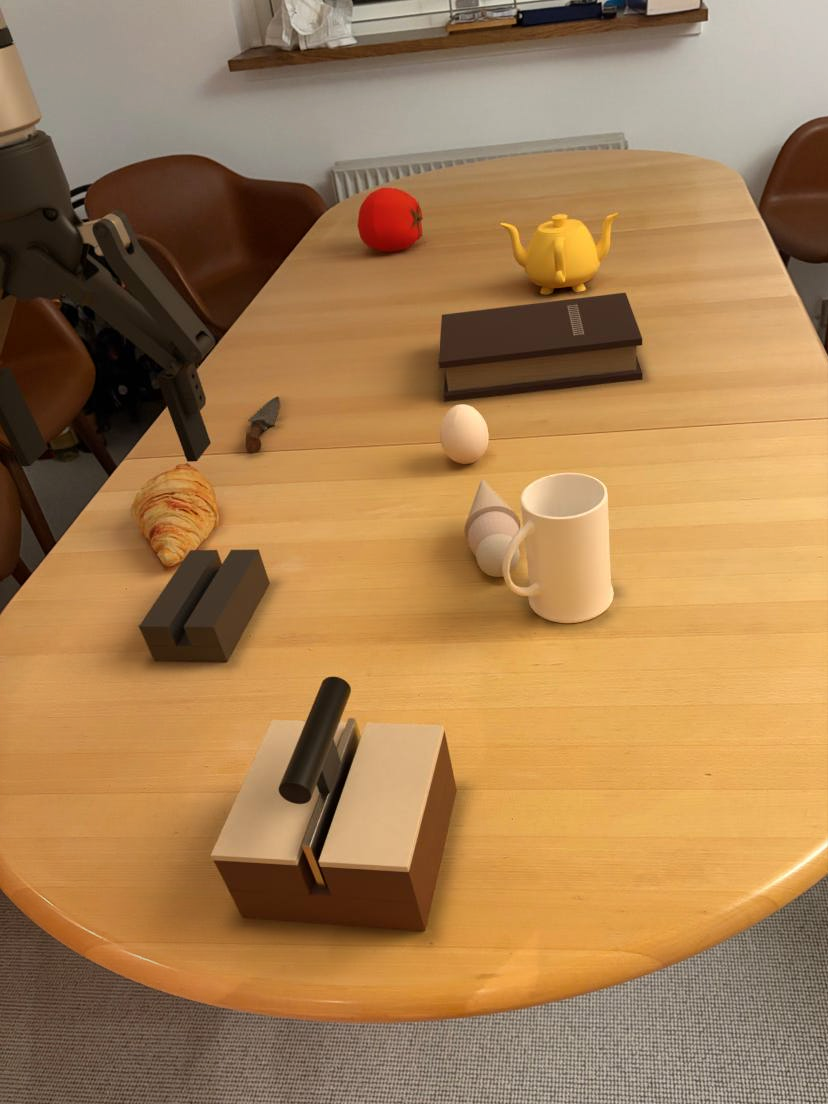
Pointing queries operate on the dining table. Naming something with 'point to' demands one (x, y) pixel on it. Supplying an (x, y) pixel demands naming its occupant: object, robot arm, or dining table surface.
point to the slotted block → (205, 606)
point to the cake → (344, 832)
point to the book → (539, 347)
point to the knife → (261, 424)
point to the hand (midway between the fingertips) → (115, 455)
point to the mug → (565, 547)
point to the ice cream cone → (491, 531)
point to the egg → (464, 434)
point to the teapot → (561, 253)
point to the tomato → (390, 220)
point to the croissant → (176, 512)
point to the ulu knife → (321, 766)
